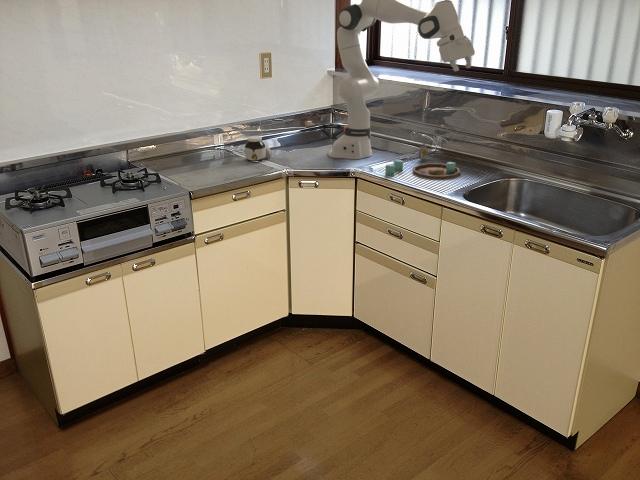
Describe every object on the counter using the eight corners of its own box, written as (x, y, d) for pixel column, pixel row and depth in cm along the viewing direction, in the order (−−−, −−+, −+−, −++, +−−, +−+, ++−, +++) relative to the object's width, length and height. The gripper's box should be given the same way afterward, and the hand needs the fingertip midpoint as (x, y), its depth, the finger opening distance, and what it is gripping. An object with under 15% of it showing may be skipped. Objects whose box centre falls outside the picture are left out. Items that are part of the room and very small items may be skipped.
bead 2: (394, 171, 290) (394, 162, 288) (394, 169, 294) (394, 159, 292) (402, 171, 290) (403, 162, 288) (402, 169, 293) (403, 160, 292)
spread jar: (243, 161, 309) (241, 138, 304) (253, 156, 319) (252, 133, 314) (265, 163, 305) (264, 140, 300) (274, 157, 315) (273, 135, 310)
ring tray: (413, 180, 277) (413, 175, 276) (412, 167, 296) (412, 162, 295) (461, 181, 275) (461, 176, 274) (457, 168, 294) (457, 163, 293)
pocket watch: (435, 165, 300) (436, 144, 296) (417, 164, 301) (418, 143, 297) (436, 160, 307) (437, 140, 303) (418, 159, 309) (419, 139, 305)
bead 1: (385, 176, 283) (385, 166, 282) (385, 173, 287) (385, 164, 285) (394, 176, 283) (394, 166, 281) (394, 174, 287) (394, 164, 285)
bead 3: (446, 173, 283) (447, 164, 281) (445, 171, 287) (446, 161, 285) (455, 174, 282) (456, 164, 281) (454, 171, 286) (455, 162, 284)
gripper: (461, 37, 276) (470, 68, 278) (434, 43, 264) (443, 75, 265) (472, 32, 272) (482, 63, 273) (445, 37, 259) (455, 70, 260)
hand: (462, 69), depth 269 cm, fingers open, 8 cm apart
